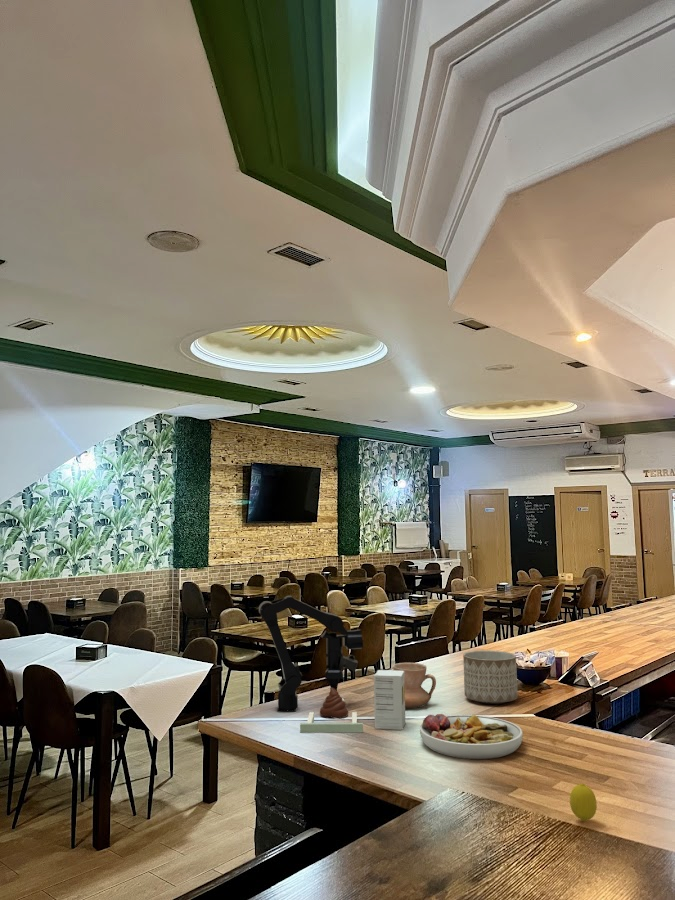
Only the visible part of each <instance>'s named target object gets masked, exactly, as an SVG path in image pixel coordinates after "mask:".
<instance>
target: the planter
mask: <svg viewBox="0 0 675 900" xmlns="http://www.w3.org/2000/svg"><path fill="white" fill-rule="evenodd" d="M462 661H463V683H464V684H463V685H464V691H463V692H464V697H465V698H467V699H469V700H471V701H472V700H473V701H475V702H479V703H481V704H486V705H501V704H504V703H508V702H514V701H516V700H517V698H518V697H519V695H518V680H517V679H518V675H517V655H516V654H515V653H513V652H507V651H502V650H471V651H466V652H464V653H463V660H462Z"/></svg>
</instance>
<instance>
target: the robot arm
mask: <svg viewBox="0 0 675 900" xmlns="http://www.w3.org/2000/svg"><path fill="white" fill-rule="evenodd" d="M287 609H292V610H294V611H296V612H298V613H300V614H302V615H305V616H307V617H309V618H311V619H313V620H315V621H317V622H318V623H320V624H321V625H322V626H323V627H325V628H326V629H328V630H329V631H331V632H328V631H327V630H324V632H323V633H322V634H321V635H320V637H321V638H322V639H326V666H325V668H326V670H325V673H324V678H325V679H326V680H327V682H328V685H329V686H330V687H329V688H334V689H336V690H337V691H338V686H339V681H340V680H341V679H344V678H343V677H344V675H343V673H344V672H343V670H344V668H345V669H348V670H350V671H352V672H356V670H357V667H358V663H359V661H358V660H357V659H356V658H355V655H353V654H350V655H348V656H345V655H344V652H343V647H345V648H346V650H358V649H359V650H361V649H363V647H364V640H363V635H362V630H361V629H353V630H352V629H351V630H347V629H346V628H345V627H344V622H343V619H342V618H341V617H340V616H338V615H337V614H336V613H335V614H334V613H331V612H326V611H323V610H319V609H317V608H315V607H313V606H311V605H309V604H307V603H305V602H303V601H301V600H298V599H297V598H294V597H293V596H292V595H286V596H284V597H282V598H278V599H275V600H272V601H268V600H265V601H262V602H261V603H260V604H259V606H258V613H259V614H260V616H261V617H262V619H263V621H264V623H265V624H266V626H267V628H268V631H269V633H270V636H271V639H272V641H273V644H274V646H275V650H276V652H277V654H278V658H279V660H280V664H281V668H282V669H281V671H282V676H283V678H282V679H281V680H280V681H279V682H278V683H277V686H278V689H279V691H278V692H277V709H276V711H277V712H296V711H297V709H298V706H299V697H298V696H299V695H298V694H297V689H298V688H299V687H300V686H301V685H302V681H303V679H302V677H303V674H302V672H301V670H300V666H299V664H298V662H293V660H292V659H291V656H290V654H289V651H288V648H287V645H286V643H285V640H284V637H283V634H282V631H281V629H280V626H279V619H278V615H277V614H279V613H281V612H283V611H285V610H287ZM337 632H338V633H339V634H337Z"/></svg>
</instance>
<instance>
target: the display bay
mask: <svg viewBox="0 0 675 900" xmlns="http://www.w3.org/2000/svg"><path fill="white" fill-rule="evenodd" d="M357 713H358V712H357V711H352V712H351V715H352V716H351V722H315V712H314V711H309V714H308V716H307V721H306V722H300V724H299V729H300V730H299V732H300V734H301V733H303V734H304V733H305V734H306V733H310V734H311V733H323V734H324V733H331V734H332V733H335V734H336V733H364V722H358V719H357V718H358V714H357Z"/></svg>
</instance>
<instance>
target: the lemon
mask: <svg viewBox="0 0 675 900" xmlns="http://www.w3.org/2000/svg"><path fill="white" fill-rule="evenodd" d="M569 795H570V796H569V803H570V809H571V811H572V813H573V814H574V815H575V817H577V819H579V820H581V821H582V822H584V823H586V822H587V821H588V820H591V819H592V818H594V816H595V815H596V813H597V805H598V804H597V799H596V795H595V793H594V791H593V789H592V788H590V787H589V786H587V785H586V784H585V783H583V782H582V783H580V784H577V785H575V786H574V787H573V788H572V789H571V791H570V794H569Z"/></svg>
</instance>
